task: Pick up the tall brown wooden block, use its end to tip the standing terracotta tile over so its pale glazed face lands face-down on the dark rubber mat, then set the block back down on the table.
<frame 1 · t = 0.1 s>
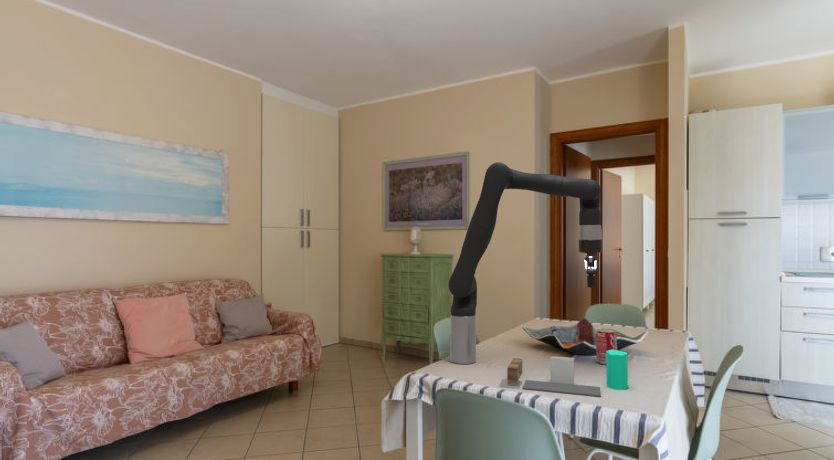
hand: (590, 286, 160), 29 cm above the table, tool pointing down, fingers open, 8 cm apart
soda can: (606, 363, 170), on the table
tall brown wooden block: (513, 379, 151), on the table
tile: (562, 383, 147), on the table
mat: (561, 388, 141), on the table
candle: (617, 387, 143), on the table
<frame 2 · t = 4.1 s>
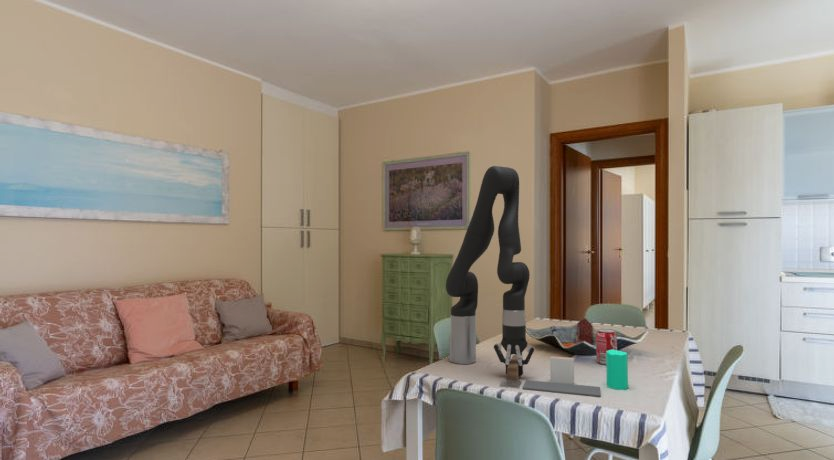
hand: (514, 375, 153), 1 cm above the table, tool pointing down, fingers closed on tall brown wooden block, 2 cm apart
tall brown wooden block: (513, 378, 151), on the table, touching gripper
everything else where it was.
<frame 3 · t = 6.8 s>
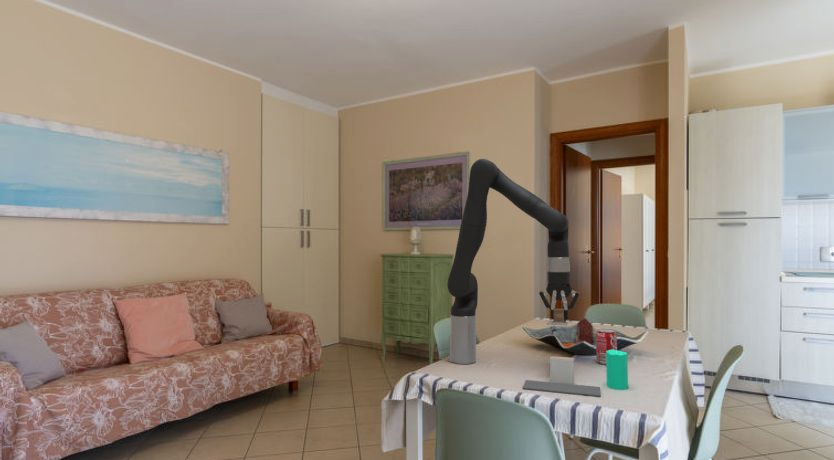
hand: (559, 320, 161), 17 cm above the table, tool pointing down, fingers closed on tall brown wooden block, 2 cm apart
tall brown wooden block: (559, 323, 159), point 17 cm above the table, tilted 6°, touching gripper
everything else where it was.
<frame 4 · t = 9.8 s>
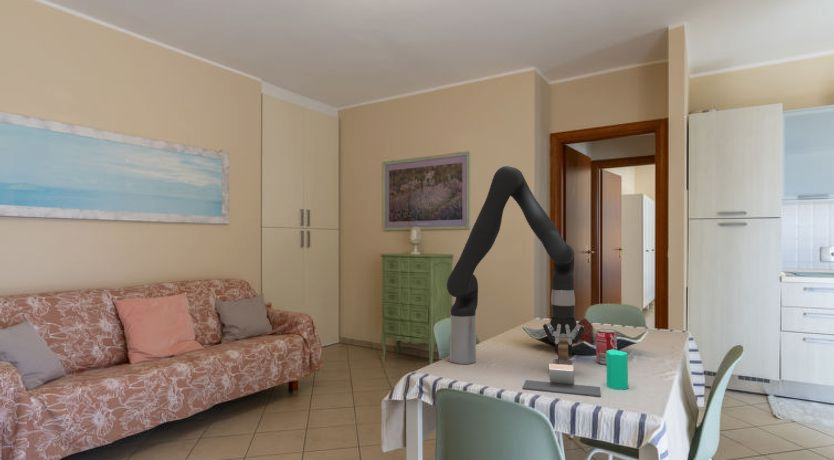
hand: (563, 354, 156), 7 cm above the table, tool pointing down, fingers closed on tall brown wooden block, 2 cm apart
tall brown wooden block: (563, 359, 155), point 6 cm above the table, touching gripper
tile: (562, 381, 147), point 1 cm above the table, tilted 43°
everything else where it was.
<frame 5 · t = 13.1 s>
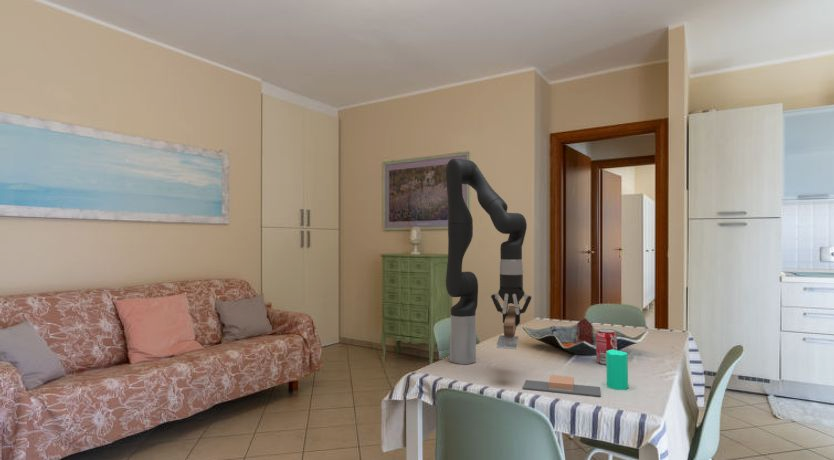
hand: (511, 324, 155), 17 cm above the table, tool pointing down, fingers closed on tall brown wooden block, 3 cm apart
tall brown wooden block: (510, 333, 152), point 15 cm above the table, tilted 21°, touching gripper
tile: (562, 379, 146), point 1 cm above the table, tilted 90°, touching mat
everything else where it was.
when the fingers open (2 cm above the table, at t = 16.2 s): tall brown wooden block stays where it is, on the table.
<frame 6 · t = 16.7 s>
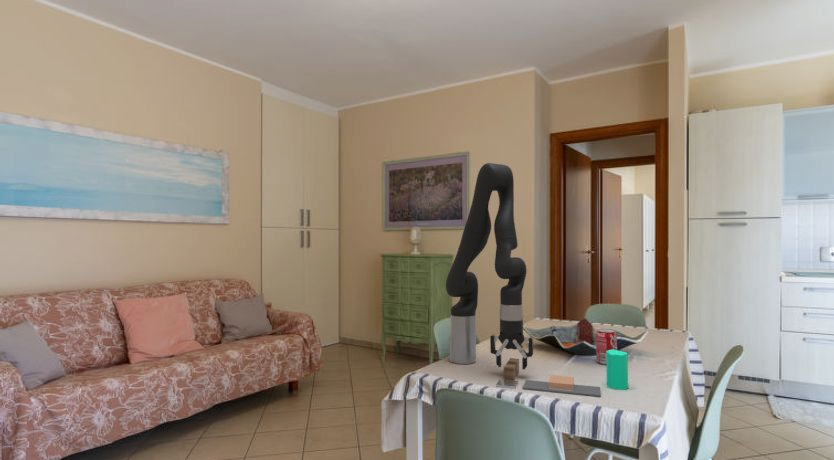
hand: (511, 367, 154), 3 cm above the table, tool pointing down, fingers open, 7 cm apart
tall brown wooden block: (510, 379, 151), on the table
everything else where it was.
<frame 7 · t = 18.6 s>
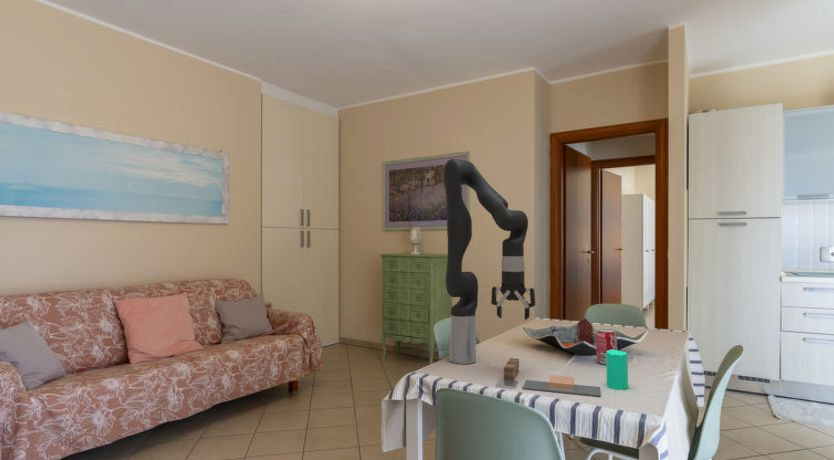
hand: (513, 318, 156), 19 cm above the table, tool pointing down, fingers open, 8 cm apart
nothing on the table moved.
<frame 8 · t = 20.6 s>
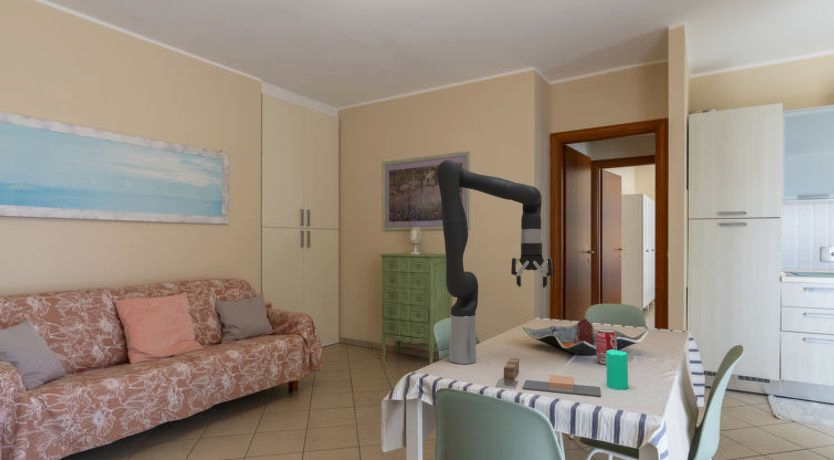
hand: (531, 287, 168), 28 cm above the table, tool pointing down, fingers open, 8 cm apart
nothing on the table moved.
at the end: tile tilted 90°; tile touching mat; the gripper is holding nothing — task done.
